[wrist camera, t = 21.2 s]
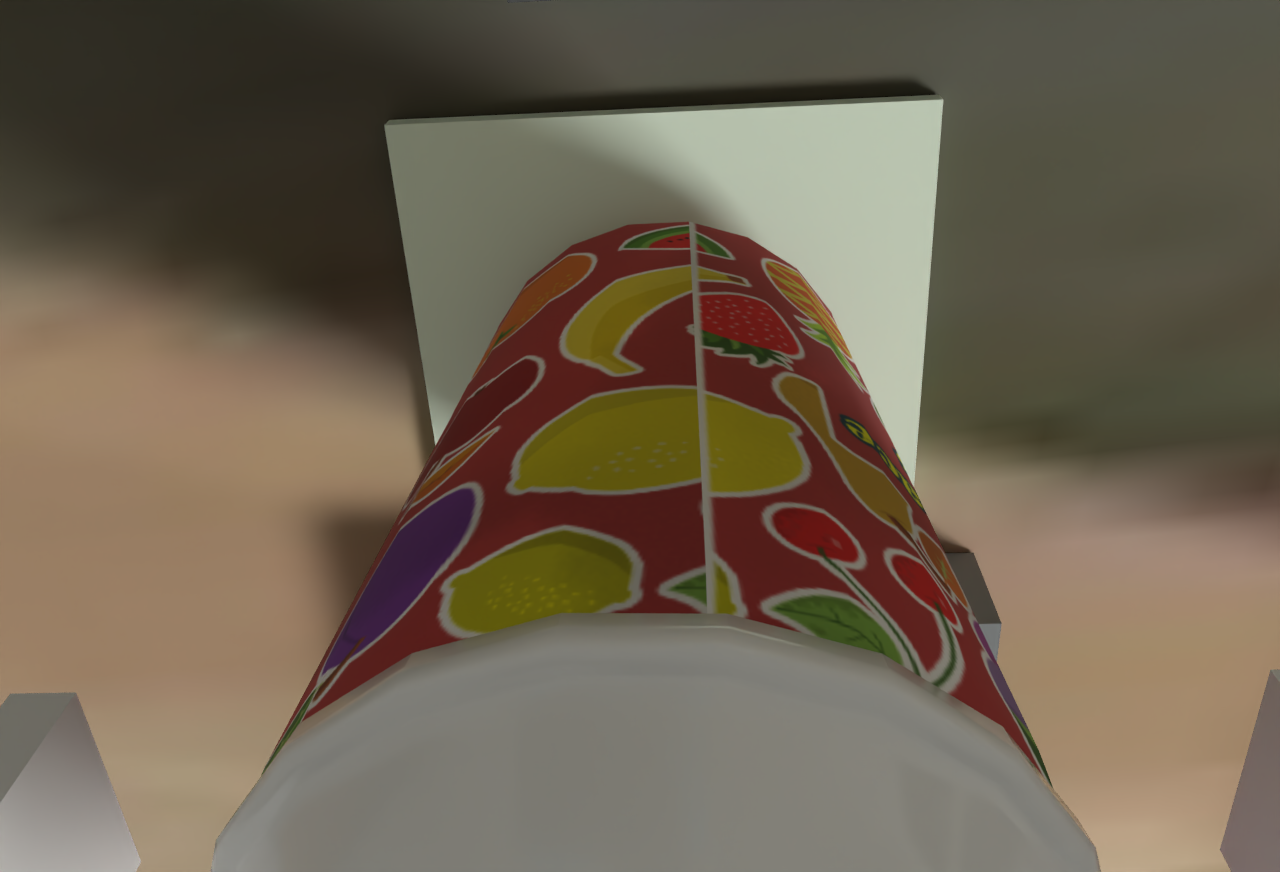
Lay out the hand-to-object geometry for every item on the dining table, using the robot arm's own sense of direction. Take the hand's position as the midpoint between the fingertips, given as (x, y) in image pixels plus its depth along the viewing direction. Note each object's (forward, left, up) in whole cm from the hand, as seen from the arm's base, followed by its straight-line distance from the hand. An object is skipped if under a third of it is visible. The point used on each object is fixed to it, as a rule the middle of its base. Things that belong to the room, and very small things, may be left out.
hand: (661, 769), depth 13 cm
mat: (0, 0, -11) cm, 11 cm away
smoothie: (0, 0, -11) cm, 11 cm away
